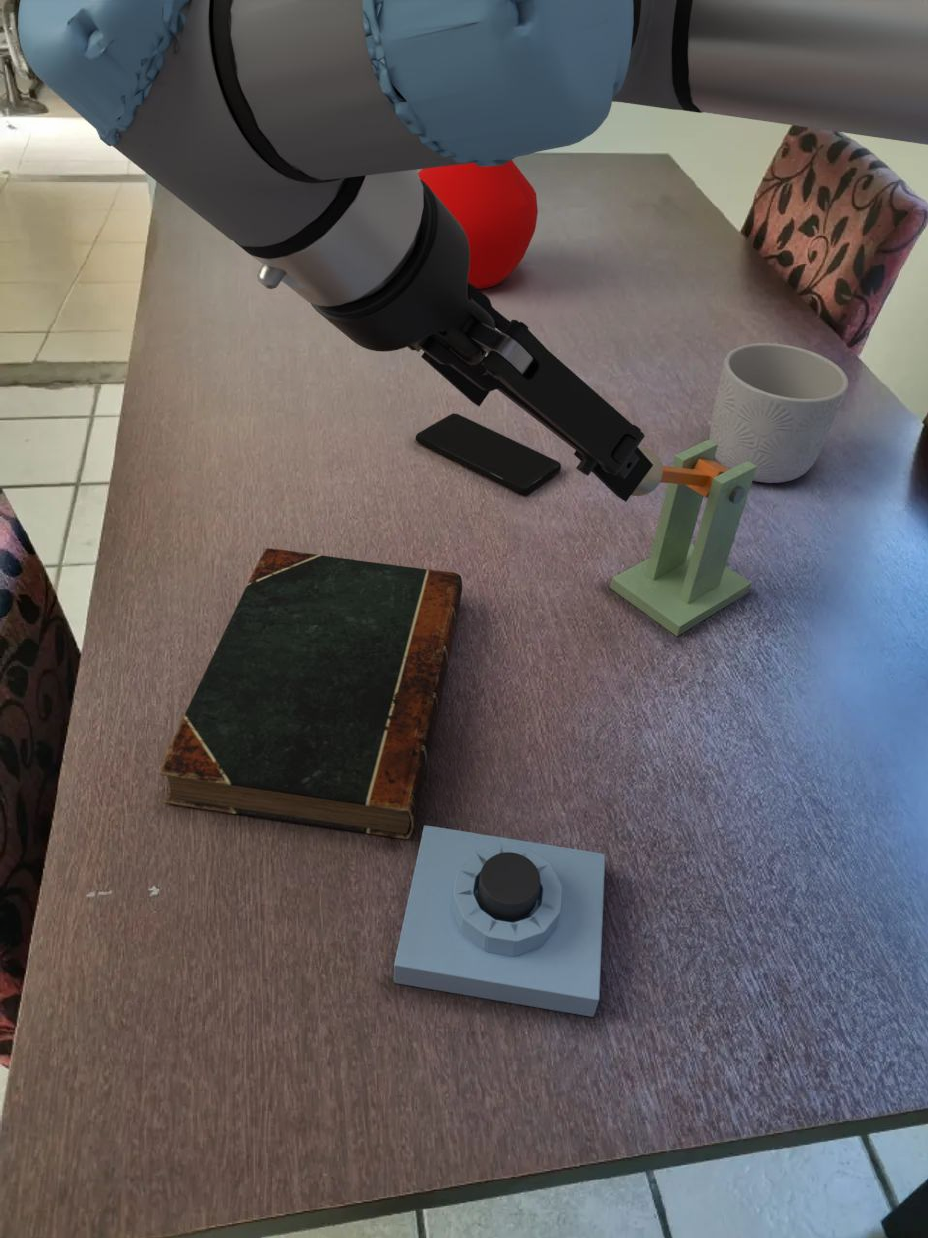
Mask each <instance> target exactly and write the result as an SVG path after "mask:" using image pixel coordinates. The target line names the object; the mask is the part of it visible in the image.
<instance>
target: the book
mask: <svg viewBox="0 0 928 1238" xmlns="http://www.w3.org/2000/svg"><path fill="white" fill-rule="evenodd" d="M462 593H463V579H462V576H461V575H460V574H459V573H457V572H453V571H452V572H451V571H444V570H436V569H426V568H420V567H411V566H405V565H404V566H403V565H397V564H387V563H380V562H373V561H365V560H359V559H352V558H351V559H350V558H344V557H338V556H337V557H336V556H329V555H322V554H315V553H307V552H301V551H294V550H293V551H292V550H286V549H280V548H279V549H278V548H271V547H267V548H264V549H263V552H262V554H261V556H260V558H259V560H258V562H257V563H256V565H255V567H254V569H253V572H252V574H251V575H250V578H249V579H248V582H247V584H246V586H245V588H244V590H243V592H242V595H241V597H240V598H239V601H238V603H237V605H236V607H235V609H234V611H233V613H232V615H231V618H230V619H229V622H228V623H227V626H226V628H225V630H224V632H223V634H222V635H221V638H220V640H219V641H218V644H217V646H216V649H215V651H214V653H213V655H212V657H211V659H210V661H209V663H208V665H207V667H206V669H205V672H204V673H203V676H202V678H201V680H200V681H199V684H198V686H197V688H196V691H195V692H194V694H193V696H192V698H191V700H190V703H189V704H188V707H187V709H186V711H185V712H184V715H183V717H182V720H181V721H180V724H179V726H178V727H177V729H176V732H175V734H174V736H173V738H172V740H171V742H170V744H169V747H168V749H167V752H166V754H165V756H164V758H163V761H162V764H161V766H160V768H159V772H158V775H159V776H164V777H166V778H167V780H168V783H169V790H168V793H167V795H166V797H165V799H164V802H163V803H165V804H167V805H175V806H181V807H189V808H195V809H202V810H208V811H214V812H221V813H227V814H235V815H241V816H246V817H253V818H260V819H266V820H272V821H280V822H287V823H293V824H300V825H301V824H302V825H306V826H307V825H308V826H315V827H323V828H329V829H335V830H341V831H350V832H355V833H364V834H370V835H377V836H383V837H387V838H391V839H392V838H394V839H403V840H409V839H410V838H411V836H412V834H413V831H414V826H415V821H416V816H417V810H418V805H419V800H420V797H421V791H422V787H423V782H424V777H425V773H426V767H427V763H428V758H429V753H430V749H431V744H432V739H433V735H434V729H435V725H436V720H437V715H438V710H439V706H440V701H441V698H442V692H443V687H444V682H445V676H446V672H447V669H448V668H447V667H448V662H449V657H450V654H451V653H450V652H451V647H452V643H453V638H454V633H455V629H456V623H457V618H458V614H459V609H460V603H461V599H462Z"/></svg>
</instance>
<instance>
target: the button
mask: <svg viewBox="0 0 928 1238" xmlns="http://www.w3.org/2000/svg"><path fill="white" fill-rule="evenodd" d="M539 888H540V874H539V871H538V869H537V868H536V866H535V865H534V863H533V862H532V861H531V860H529V859H528V858H526V857H525V856H523V855H520V854H517V853H512V852H505V853H499V854H496V855H494V856H492V857H491V858H489V859H488V860H487V861H486V862H485V864H484V865H483V867H482V869H481V873H480V881H479V889H478V895H479V899H480V902H481V904H482V905H483V907H484V908H485V909H486V910H487V911H488V912H489V913H490V914H491V915H493V916H495V917H497V918H500V919H504V920H516V919H520V918H522V917H524V916H526V915H527V914H529V913H530V912H531V911H532V910H533V908H534V907H535V905H536V902H537V898H538V893H539Z"/></svg>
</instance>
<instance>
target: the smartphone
mask: <svg viewBox="0 0 928 1238" xmlns="http://www.w3.org/2000/svg"><path fill="white" fill-rule="evenodd" d="M415 441H416V442H417V443H418V444H420V445H422V446H423V447H426V448H427V449H430V450H431V451H434V452H435V453H437V454H439V455H441V456H444V457H445V458H447V459H449V460H451V461H453V462H455V463H457V464H459V465H461V466H463V467H466V468H467V469H469V470H471V471H473V472H475V473H477V474H479V475H481V476H483V477H485V478H487V479H489V480H491V481H493V482H495V483H497V484H500V486H503V487H505V488H507V489H508V490H511V491H513V492H515V493H517V494H519V495H522V496H523V495H524V496H525V495H527V494H529V493H530V492H532V491H533V490H535V489H536V488H538V487H539V486H540V485H542V484H543V483H545V482H546V481H547V480H548V479H550V478H551V477H553V476H554V475H556V474H557V473H558V472H560V471H561V469H562V463H560V462H559V460H556V459H553V458H552V457H549V456H547V455H546V454H543V453H541V452H540V451H537V450H535V449H532V448H530V447H528V446H526V445H524V444H522V443H520V442H518V441H516V440H514V439H511V438H510V437H507V436H506V435H503V434H501V433H499V432H496V431H494V430H492V429H490V428H489V427H486V426H484V425H483V424H480V423H478V422H476V421H474V420H471V419H469V418H467V417H465V416H463V415H461V414H459V413H451V414H449V415H447V416H445V417H444V418H442V419H440V420H438V421H437V422H435V423H433V424H431V425H430V426H428V427H426V428H424V429H423V430H421V431H419V432H418V433H417V434H415Z"/></svg>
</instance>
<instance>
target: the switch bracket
mask: <svg viewBox="0 0 928 1238" xmlns="http://www.w3.org/2000/svg"><path fill="white" fill-rule="evenodd" d="M717 446H718V444H717V443H715V442H713V441H711V440H710V439H706V440H704V441H702V442H700V443H698V444H696V445H693V446H691V447H689V448H687V449H684V450H683V451H680V452H679V453H677V454H675V455H674V457H673V461H672V465H671V467H678V468H687V469H694V468H695V466H696V464H697V462H698V460H699V459H702V460H710V461H715V454H716V450H717ZM756 468H757V466H756V465H754V464H752V463H750V462H749V461H746V462H744V463H742V464H740V465H738V466H736V467H734V468H732V469H730V470H728V471H726V472H724V473H722V474H720V475H718V476H716V477H714V478H713V481H712V485H711V488H710V492H709V495H708V498H706V502H705V506H704V509H703V514H702V517H701V521H700V524H699V527H698V531H697V535H696V538H695V542H694V543H692V540H693V536H694V532H695V529H696V526H697V523H698V522H697V521H698V519H699V514H700V512H701V511H700V510H701V507H702V504H703V501H704V498H705V497H704V496H702V495H701V494H699V493H697V492H696V491H694V490H692V489H691V488H689V487H688V486H686V485H683V484H673V483H667V486H666V488H665V489H666V490H665V494H664V498H663V502H662V507H661V509H660V514H659V519H658V522H657V526H656V531H655V535H654V539H653V542H652V543H653V544H652V547H651V551H650V555H649V557H648V558H646V559H644V560H643V561H641V562H639V563H636V564H635V565H633V566H632V567H629V568H628V569H626V570H623V571H622V572H620V573H618V574H617V575H614V576H613V577H611V581H610V585H609V589H611V590H612V591H613V592H615V593H616V594H618V595H619V596H621V597H622V598H623V599H625V600H626V601H627V602H629V603H630V604H632V605H633V606H634V607H635V608H637V609H638V610H640V611H641V612H642V613H644V614H645V615H646V616H648V617H649V618H651V619H652V620H653V621H655V622H656V623H658V624H659V625H660V626H661V627H663V628H664V629H666V631H669V632H670V633H671V634H672V635H674V636H675V637H679V636H680V635H682V634H684V633H685V632H687V631H688V630H690V629H692V628H694V627H695V626H697V625H699V624H700V623H702V622H703V621H705V620H707V619H709V618H710V617H711V616H713V615H715V614H716V613H718V612H719V611H721V610H723V609H724V608H726V607H727V606H730V605H732V603H735V602H736V601H738V600H739V599H741V598H743V597H744V596H745V595H748V594H749V593H750V591H751V590H750V589H751V587H752V585H753V582H752V581H751V580H749V579H747V578H746V577H744V576H742V575H741V574H739V573H738V572H736V571H735V570H733V569H731V568H730V567H729V566H727V562H728V560H729V557H730V554H731V550H732V546H733V543H734V541H735V537H736V534H737V530H738V528H739V525H740V521H741V518H742V515H743V512H744V509H745V506H746V502H747V499H748V497H749V492H750V490H751V486H752V483H753V481H752V480H753V477H754V474H755V471H756Z"/></svg>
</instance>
